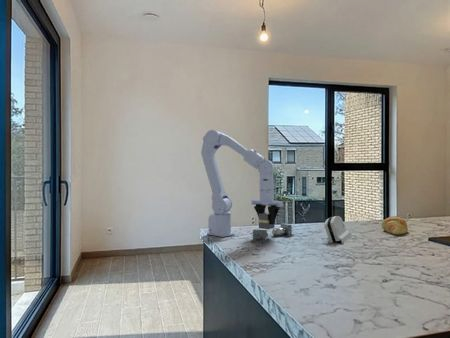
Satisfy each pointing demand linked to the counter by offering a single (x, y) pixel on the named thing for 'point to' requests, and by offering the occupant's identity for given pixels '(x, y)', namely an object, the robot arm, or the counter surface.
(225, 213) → the robot arm
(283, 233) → the shaft
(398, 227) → the bread loaf
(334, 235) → the hinge
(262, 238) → the shaft
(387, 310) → the counter surface
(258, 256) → the counter surface
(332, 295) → the counter surface
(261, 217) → the block
